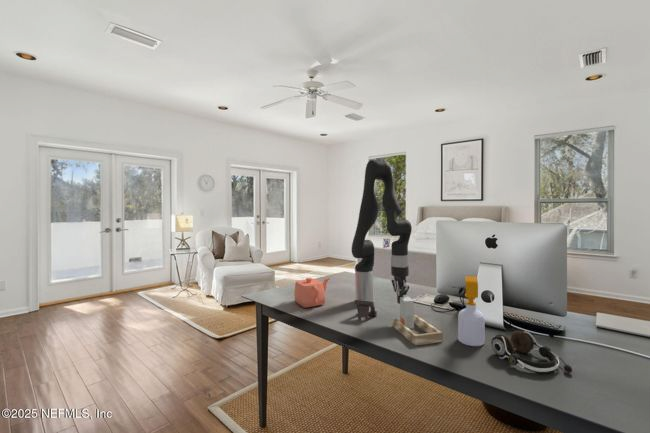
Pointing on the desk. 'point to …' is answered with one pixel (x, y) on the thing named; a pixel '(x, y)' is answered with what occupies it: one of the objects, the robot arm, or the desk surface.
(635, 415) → the desk surface
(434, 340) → the wooden tray
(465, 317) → the soap bottle
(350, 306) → the desk surface
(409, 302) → the skincare box
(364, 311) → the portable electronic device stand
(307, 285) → the teapot
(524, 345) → the headset
